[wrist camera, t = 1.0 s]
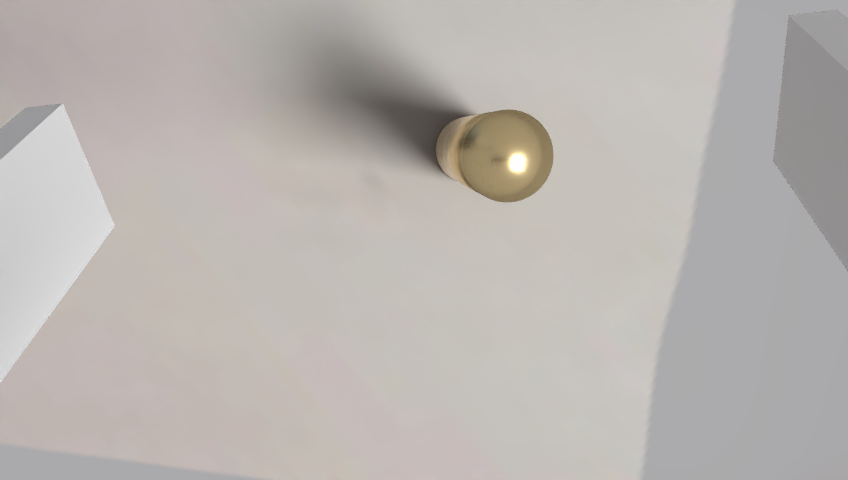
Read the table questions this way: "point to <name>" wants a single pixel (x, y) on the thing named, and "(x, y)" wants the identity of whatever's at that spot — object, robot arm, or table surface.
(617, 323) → the table surface
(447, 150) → the pin
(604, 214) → the table surface
